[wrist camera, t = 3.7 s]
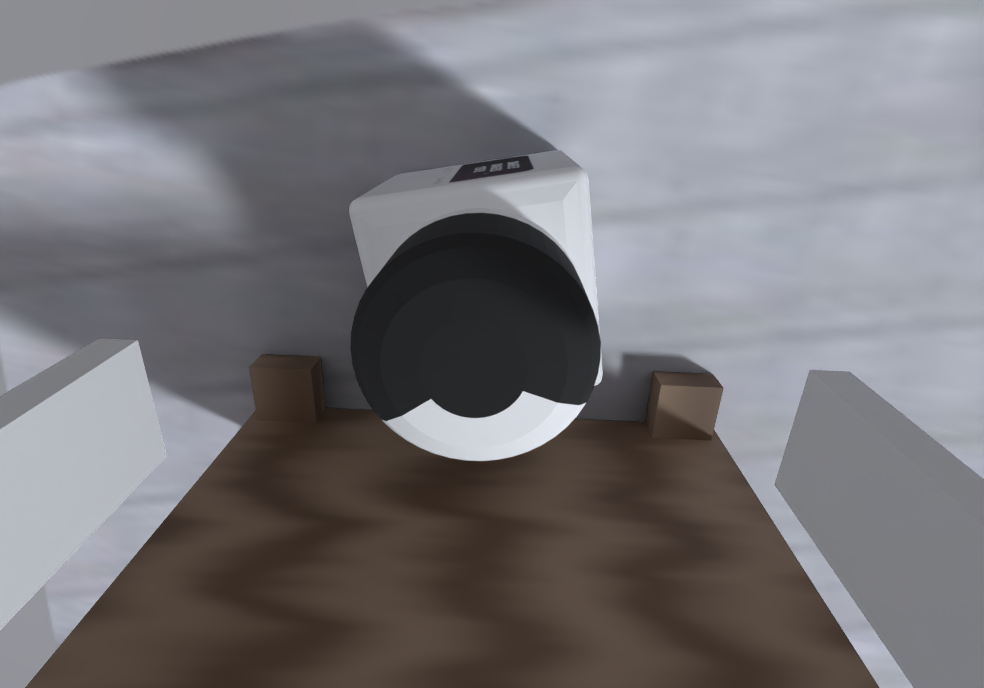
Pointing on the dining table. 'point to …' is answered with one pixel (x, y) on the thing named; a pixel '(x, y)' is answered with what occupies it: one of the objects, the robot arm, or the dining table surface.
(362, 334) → the container
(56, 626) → the dining table surface
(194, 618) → the screen
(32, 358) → the dining table surface
